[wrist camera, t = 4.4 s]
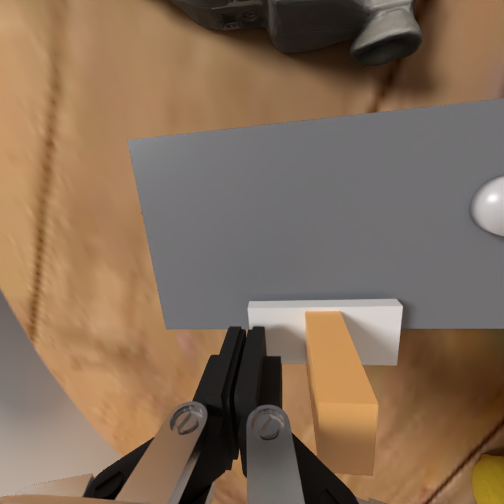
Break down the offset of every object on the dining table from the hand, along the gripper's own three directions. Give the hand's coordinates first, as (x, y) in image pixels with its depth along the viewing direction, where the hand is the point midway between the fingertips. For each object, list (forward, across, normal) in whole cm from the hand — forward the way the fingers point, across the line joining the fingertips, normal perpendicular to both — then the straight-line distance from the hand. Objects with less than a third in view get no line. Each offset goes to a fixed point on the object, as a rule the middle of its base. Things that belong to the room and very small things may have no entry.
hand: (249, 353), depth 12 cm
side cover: (+9, -3, 0) cm, 9 cm away
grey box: (+9, -6, -5) cm, 12 cm away
